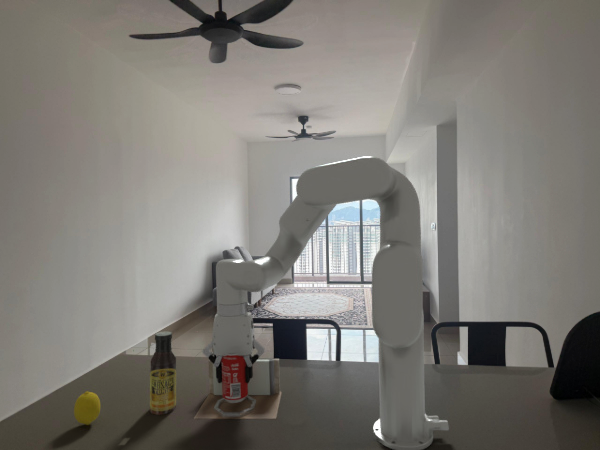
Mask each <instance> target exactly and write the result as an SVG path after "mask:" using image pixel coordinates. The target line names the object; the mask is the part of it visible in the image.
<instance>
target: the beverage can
mask: <svg viewBox="0 0 600 450" xmlns="http://www.w3.org/2000/svg"><path fill="white" fill-rule="evenodd" d="M246 364H247V363H246V361H245V359H244V357H243V356H238V354H227V356H222V359H221V365H222V396H223V398H224V399H225V400H226V401H227V402H230V403H237V402H241V401H243V400H244V399H245V397H246V396H247V395H248V383H246V377H245V367H246V366H247V365H246Z"/></svg>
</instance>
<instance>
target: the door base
mask: <svg viewBox="0 0 600 450" xmlns="http://www.w3.org/2000/svg"><path fill="white" fill-rule="evenodd" d="M272 360H274V386H275V394H274V395H248V396H250V397H252V398H253V399H255V400H256V405H255V408H254V411H253V412H251V413H248V414H246V415H244V416H241V417H221V416H220V415H219V414H217V413H216V412H214V407H215V405H216V403H217V401H218V400H220V399H222V398H223V396H222V395H214V386H213V363H212V362H211V361H210V360H209V359H208V362H207V363H208V383H209V385H208V386H209V387H208V389H209V390H208V391H209V393H208V395H207V396H206V398H205V400H204V401H203V403H202V404H201V406H200V408H199V409H198V411H197V413H196V414H195V416H194V417H193V419H194V420H200V419H201V420H203V419H204V420H214V419H215V420H216V419H217V420H224V419H225V420H238V419H239V420H247V419H249V420H276V419H277V417H278V411H279V406H280V402H281V398H282V392H283V391H281V382H280V376H281V375H280V358H272ZM251 404H252V403H251V402H249V401H247V400H246V399H244V400H243V401H241V402H237V403H230V402H225V403H222V404H221V405H220V407H219V409H221V410H222V411H223V412H240V411H243V410H245V409H248V408H250V407H251Z"/></svg>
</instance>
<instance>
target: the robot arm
mask: <svg viewBox="0 0 600 450" xmlns="http://www.w3.org/2000/svg"><path fill="white" fill-rule="evenodd" d="M295 188H296V189H295V190H296V191H295V192H296V196H295V197H294V199H293V200H292V202H291V203H290V204H289V206H288V207H287V208H286V209H285V211H284V212H283V213H282V214H281V216H280V218H279V220H278V225H279V232H278V236H277V238H276V240H274V241H275V242H273V244H272V246H271V247H270V248H269V250H268V251H267V252H266V253H265V255H264V256H263V257H260V258H256V259H253V260H247V261H245V260H244V259H240V258H224V259H221V260H219V261H217V263H216V264H215V265H216V266H215V280H216V314H215V315H214V320H213V324H212V325H213V326H212V335H211V336H212V338H211V341H210V342H209V343H208V344H207V346H206V347H204V349H203V350H202V354H203V355H204V356H205V357H206V358H208V361H209V360H210V361H211V362H212V363H213V364H214V366H215V367H216V378H218V383H222V365H221V359H222V356H227V354H238V356H243V357H244V359H245V361H246V363H247V364H246V365H247V366H246V367H245V377H246V383H249V381H250V379H251V378H252V377H253V364H254V363H255V362H256V361H257V360H259V358H260V357H261V356H262V355H264V353H266V348H265V347H264V346H263V345H262V344H261V343H259V341H258V340H257V339H256V337H255V334H256V333H255V326H254V319H253V316H252V313H251V312H249V311H253V310H254V308H255V307H254V304H251V303H250V302H249V300H248V298H249V297H248V292H249V293H259V292H262V291H265V290H267V289H269V288H270V287H272V286H275V285H277V284H278V283H280V281H282V280H283V278H284V277H285V276H286V275H287V274H288V272H289V271H290V270H291V268H292V267H293V266H294V265H295V263H296V262H297V260H298V259H299V258H300V256H301V254H302V253H303V251H304V249H305V248H306V247H307V244H308V243H309V241H310V239H311V238H312V237H313V236H314V235H315V233H316V232H317V230H318V229H319V228H320V226H321V225H322V224H323V223H324V221H325V220H326V219H327V217H328V216H330V214H331V213H332V211H333V210H334V209H335V208H336V206H338V205H340V204H346V203H353V202H357V201H358V202H360V201H365V200H371V201H375V202H376V203H377V205H378V207H379V250H378V251H377V252H376V254H375V255H374V259H373V261H372V267H371V268H372V269H371V324H372V325H371V326H372V328H373V331H374V334H375V336H376V337H377V339H378V384H379V385H378V386H379V387H378V389H379V390H378V391H379V392H378V394H379V398H378V399H379V418H378V420H376V421H375V422H374V424H373V427H372V431H373V434H374V435H375V437H376V440H377V442H379V443H380V444H381V445H383V446H385V447H386V448H389V449H392V450H425V449H427V448H428V447H429V446H430V445H432V443H433V441H434V434H433V432H434V431H449V430H450V429H449V428H450V426H449V422H448V420H447V419H440V418H439V416H438V415H428V414H426V408H425V407H426V402H425V398H426V397H425V395H426V394H425V391H426V390H425V349H424V347H425V344H424V343H425V341H424V340H425V339H424V337H425V336H424V332H425V331H424V330H425V329H424V327H425V325H424V323H425V322H424V320H425V318H424V315H425V314H424V308H423V306H424V305H423V303H424V302H423V301H424V299H423V298H424V297H423V296H424V294H423V293H424V291H423V290H424V289H423V286H424V280H423V279H424V278H423V277H424V262H423V261H424V259H423V256H422V255H423V254H422V235H421V234H422V228H421V205H420V200H419V199H420V198H419V196H418V193H417V190H416V188H415V186H414V184H412V182H411V180H409V178H407V177H406V175H404V174H403V173H402V172H401V171H399V170H397V169H395V168H394V167H392V166H390V165H389V164H388V163H387V162H386V161H385V160H383V159H381V158H380V157H376V156H370V155H369V156H367V155H366V156H361V157H357V158H351V159H347V160H341V161H336V162H332V163H326V164H323V165H317V166H312V167H310V168H307V169H306V170H304V171H303V172H302V173H301V174H300V175H299V177H298V179H297V182H296V185H295ZM254 349H255V350H256V352H255V354H254V355H253V350H254Z"/></svg>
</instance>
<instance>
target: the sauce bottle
mask: <svg viewBox="0 0 600 450" xmlns="http://www.w3.org/2000/svg"><path fill="white" fill-rule="evenodd" d="M172 339H173V332H172V331H168V330H166V331H159V332H156V333H155V334H154V341H155V351H154V353H153V355H152V357H151V359H150V370H149V371H150V373H149V408H150V409H149V412H150V413H151V414H153V415H165V414H168V413H171V412H173V411H174V410H175V409H176V405H177V357H176V356H175V354H174V352H173V351H172Z"/></svg>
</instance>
